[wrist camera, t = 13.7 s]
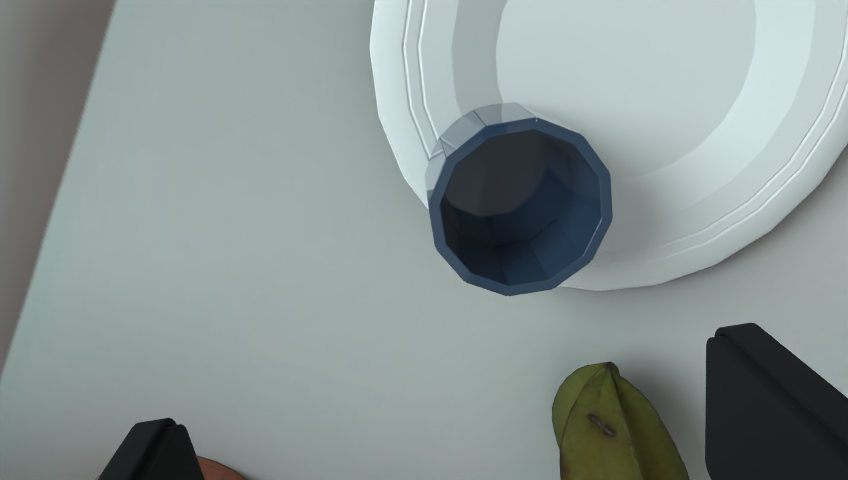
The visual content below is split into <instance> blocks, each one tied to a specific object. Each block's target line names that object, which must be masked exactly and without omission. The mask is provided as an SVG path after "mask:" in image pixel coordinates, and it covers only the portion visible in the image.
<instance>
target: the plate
mask: <svg viewBox="0 0 848 480" xmlns="http://www.w3.org/2000/svg"><path fill="white" fill-rule="evenodd" d="M369 47H370V54H371V62H372V70H373V77H374V85H375V93H376V100H377V108H378V115H379V118H380V121H381V123H382V126H383V128H384V131H385V133H386V136H387V138H388V140H389V143H390V145H391V148H392V150H393V153H394V155H395V158H396V160H397V163H398V165H399V167H400V170H401V172H402V175H403V177H404V178H405V180H406V181H407V182H408V184H409V185H410V186H411V188H412V189H413V190H414V192H415V193H416V194H417V195H418V197H419V198H420V199H421V201H422V202H423V203H424V205H425V206H426V207H427V209H428V210H429V207H428V200H427V192H426V184H425V172H426V170H427V167H428V163H429V160H430V156H431V153H432V151H433V149H434V147H435V145H436V143H437V141H438V138H439V137H440V135H442V134H443V133H444V132H445V131H446V130H447V128H448V127H449V126H451V125H452V124H453V123H454V122H455V121H456V120H458V119H459V118H460V117H462V116H463V115H465V114H467V113H469V112H470V111H471V110H473V109H477V108H480V107H483V106H487V105H491V104H500V103H512V102H514V103H519V104H521V105H524V106H527V107H530V108H533V109H535V110H537V111H539V112H542V113H544V114H547V115H549V116H552V117H554V118H555V119H557V120H559V121H560V122H562V123H564V124H565V125H567V126H569V127H570V128H572V129H574V130H575V131H577V132H578V133H580V134H581V135H583V136H584V137H585V138H586V140H587V141H588V143H589V144H590V145H591V147H592V148H593V149H594V151H595V152H596V154H597V155H598V156H599V158H600V159H601V161H602V162H603V163H604V165H605V166H606V168H607V169H608V170H609V172H610V173H609V174H610V175H611V193H612V212H613V219H611V220H612V222H611V224H610V226H609V228H608V230H607V232H606V234H605V236H604V238H603V240H602V242H601V244H600V246H599V248H598V250H597V252H596V254H595V256H594V258H593V260H592V261H591V262H590V263H589V264H587V265H586V266H585V267H583V268H582V269H581V270H579V271H578V272H576V273H575V274H574V275H572V276H571V277H569V278H568V279H567V280H565V281H564V282H562V283H561V284H560V285H558V286H563V287H571V288H578V289H586V290H593V291H605V290H615V289H624V288H633V287H642V286H651V285H659V284H661V283H664V282H667V281H670V280H673V279H676V278H679V277H682V276H684V275H687V274H690V273H693V272H696V271H699V270H702V269H704V268H707V267H710V266H713V265H716V264H718V263H719V262H721V261H722V260H724V259H726V258H727V257H729V256H731V255H732V254H734V253H735V252H737V251H739V250H740V249H742V248H744V247H745V246H747V245H748V244H750V243H752V242H753V241H755V240H757V239H758V238H760V237H761V236H763V235H765V234H766V233H768V232H770V231H771V230H772V229H773V228H774V227H775V226H776V225H777V224H778V223H779V222H781V221H782V220H783V219H784V218H785V217H786V216H787V215H788V214H789V213H790V212H791V211H792V210H793V209H794V208H795V207H796V206H797V205H798V204H799V203H800V202H802V201H803V200H804V199H805V198H806V197H807V196H808V195H809V194H810V193H811V192H812V191H813V190H814V189H815V188H816V187H817V186H818V185H819V184H820V183H821V181H822V180H823V179H824V177H825V176H826V174H827V173H828V171H829V170H830V168H831V167H832V165H833V164H834V163H835V161H836V160H837V158H838V157H839V155H840V154H841V152H842V151H843V149H844V148H845V147H846V145H847V144H848V0H375V3H374V12H373V20H372V28H371V37H370V45H369Z"/></svg>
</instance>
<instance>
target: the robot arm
mask: <svg viewBox="0 0 848 480" xmlns="http://www.w3.org/2000/svg"><path fill="white" fill-rule="evenodd" d="M705 462H706V467H707V470H708V473H709V476H710V478H711V480H848V398H847V397H846V396H844V395H843V394H842V393H841V392H839V391H838V390H837V389H836V388H834V387H833V386H832V385H831V384H829V383H828V382H827V381H826V380H825V379H823V378H822V377H821V376H820V375H818V374H817V373H816V372H815V371H813V370H812V369H811V368H810V367H809V366H807V365H806V364H805V363H804V362H802V361H801V360H800V359H799V358H797V357H796V356H795V355H794V354H793V353H791V352H790V351H789V350H788V349H786V348H785V347H784V346H783V345H781V344H780V343H779V342H778V341H777V340H775V339H774V338H773V337H772V336H770V335H769V334H768V333H767V332H765V331H764V330H763V329H762V328H761V327H759V326H758V325H756V324H755V323H746V324H739V325H733V326H727V327H721V328H719V329H717V331H716V333H715V337H712V338H709V339H708V341H707V345H706V429H705ZM98 480H205V478H204V475H203V473H202V470H201V467H200V464H199V462H198V459H197V456H196V454H195V451H194V448H193V445H192V443H191V440H190V437H189V434H188V432H187V430H186V427H185V426H184V425H181V424H179V425H177V424H176V422H175V421H174V420H173V419H171V418H165V419H159V420H153V421H146V422H140V423H137V424H135V425H134V426H133V427H132V428H131V430H130V432H129V433H128V435H127V436H126V438H125V439H124V441H123V442H122V444H121V445H120V447H119V448H118V450H117V451H116V453H115V454H114V456H113V457H112V459H111V460H110V462H109V463H108V465H107V466H106V468H105V469H104V471H103V472H102V474H101V475H100V477H99V478H98Z"/></svg>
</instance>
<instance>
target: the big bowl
mask: <svg viewBox="0 0 848 480" xmlns="http://www.w3.org/2000/svg"><path fill="white" fill-rule="evenodd" d="M197 459H198V462H199V464H200V467H201V470H202V473H203V475H204V478H205V480H246V479H244V478H243V477H242V476H240V475H239V474H238V473H236V472H234V471H232V470H231V469H229V468H227V467H225V466H223V465H221V464H218V463H216V462H214V461H211V460H208V459H205V458H202V457H197ZM99 477H100V476H98V477H97V478H96V479H95V480H98V478H99Z"/></svg>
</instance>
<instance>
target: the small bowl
mask: <svg viewBox="0 0 848 480" xmlns="http://www.w3.org/2000/svg"><path fill="white" fill-rule="evenodd" d="M609 173H610V172H609V170H608V169H607V168H606V166H605V165H604V163H603V162H602V161H601V159H600V158H599V156H598V155H597V154H596V152H595V151H594V149H593V148H592V147H591V145H590V144H589V143H588V141H587V140H586V138H585V137H584V136H583V135H581V134H580V133H578V132H577V131H575V130H574V129H572V128H570V127H569V126H567V125H565V124H564V123H562V122H560V121H559V120H557V119H555V118H554V117H552V116H549V115H547V114H544V113H542V112H539V111H537V110H535V109H533V108H530V107H527V106H524V105H521V104H519V103H514V102H512V103H500V104H491V105H487V106H483V107H480V108H477V109H473V110H471V111H470V112H469V113H467V114H465V115H463V116H462V117H460V118H459V119H458V120H456V121H455V122H454V123H453V124H452V125H451V126H449V127H448V128H447V130H446V131H445V132H444V133H443V134H442V135H440V137H439V138H438V141H437V143H436V145H435V147H434V149H433V151H432V153H431V156H430V160H429V163H428V167H427V170H426V172H425V184H426V192H427V200H428V207H429V213H430V219H431V225H432V231H433V237H434V243H435V247H436V250H437V251H438V252H439V253H440V254H441V256H442V257H443V258H444V259H445V260H446V261H447V262H448V264H449V265H450V266H451V267H452V268H453V269H454V270H455V271H456V273H457V274H458V275H459V276H460V277H461V278H462V279H463V281H466V283H469V284H472V285H475V286H478V287H481V288H484V289H487V290H490V291H493V292H496V293H499V294H502V295H505V296H507V295H508V296H513V295H519V294H526V293H532V292H538V291H544V290H551V289H552V288H555V287H557V286H558V285H560V284H561V283H562V282H564V281H565V280H567V279H568V278H569V277H571V276H572V275H574V274H575V273H576V272H578V271H579V270H581V269H582V268H583V267H585V266H586V265H587V264H589V263H590V262H591V261H592V260H593V258H594V256H595V254H596V252H597V250H598V248H599V246H600V244H601V242H602V240H603V238H604V236H605V234H606V232H607V230H608V228H609V226H610V224H611V222H612V220H611V219H613V212H612V193H611V175H610V174H609Z"/></svg>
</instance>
